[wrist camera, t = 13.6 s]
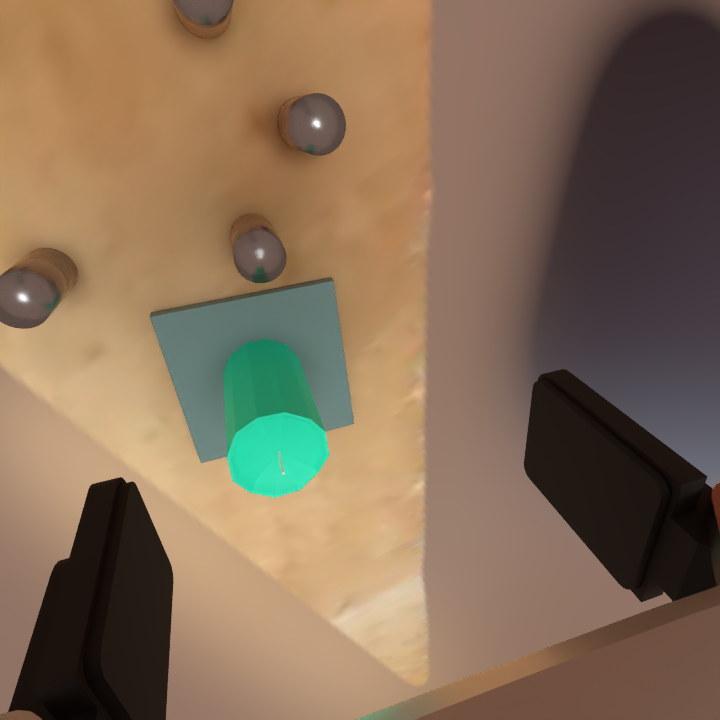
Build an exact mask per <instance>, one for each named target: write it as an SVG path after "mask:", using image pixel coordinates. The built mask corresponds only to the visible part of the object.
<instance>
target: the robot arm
mask: <svg viewBox="0 0 720 720" xmlns="http://www.w3.org/2000/svg"><path fill="white" fill-rule="evenodd" d="M524 468H525V471H526V474H527V476H528V477H529V479H530V480H531V481H532V482H533V483H534V484H535V486H536V487H537V488H538V489H539V490H540V491H541V493H542V494H543V495H544V496H545V497H546V498H547V500H548V501H549V502H550V503H551V504H552V506H553V507H554V508H555V509H556V510H557V511H558V513H559V514H560V515H561V516H562V517H563V519H564V520H565V521H566V522H567V523H568V524H569V525H570V527H571V528H572V529H573V530H574V531H575V533H576V534H577V535H578V536H579V537H580V538H581V540H583V542H584V543H585V544H586V546H587V547H588V548H589V549H590V550H591V551H592V552H593V554H594V555H595V556H596V557H597V558H598V559H599V561H600V562H601V563H602V564H603V565H604V567H605V568H606V569H607V570H608V571H609V573H610V574H611V575H612V576H613V577H614V578H615V580H616V581H617V582H618V583H619V584H620V585H621V586H622V587H623V588H625V589H630V590H631V591H632V592H633V593H634V594H635V595H636V597H637V598H638V599H639V600H640V601H641V602H643V601H646V600H649V599H651V598H654V597H657V596H660V595H662V594H663V592H665V593H666V594H667V595H668V596H669V597H670V598H671V599H672V602H671V603H667V604H664V605H662V606H659V607H656V608H653V609H651V610H648V611H645V612H642V613H640V614H637V615H634V616H632V617H629V618H626V619H623V620H621V621H618V622H615V623H612V624H610V625H607V626H604V627H602V628H599V629H596V630H593V631H591V632H588V633H585V634H583V635H580V636H577V637H574V638H572V639H569V640H566V641H563V642H561V643H558V644H555V645H553V646H550V647H547V648H545V649H542V650H539V651H536V652H534V653H531V654H528V655H526V656H523V657H520V658H518V659H515V660H512V661H510V662H507V663H505V664H502V665H499V666H496V667H494V668H491V669H488V670H486V671H483V672H480V673H478V674H475V675H472V676H470V677H467V678H464V679H462V680H459V681H456V682H454V683H451V684H448V685H446V686H443V687H441V688H438V689H435V690H433V691H430V692H427V693H425V694H422V695H419V696H417V697H414V698H411V699H409V700H406V701H403V702H400V703H398V704H395V705H393V706H390V707H388V708H385V709H382V710H379V711H377V712H374V713H372V714H369V715H367V716H364V717H361V718H358V719H356V720H720V483H718V484H716V485H715V487H714V488H713V489H712V488H711V487H710V486H708V485H707V484H706V483H705V482H706V479H707V476H706V475H705V474H703V473H702V472H701V471H699V470H698V469H696V468H695V467H694V466H693V465H691V464H690V463H689V462H687V461H686V460H685V459H683V458H682V457H681V456H679V455H678V454H677V453H676V452H674V451H673V450H672V449H670V448H669V447H668V446H666V445H665V444H664V443H662V442H661V441H660V440H658V439H657V438H655V437H654V436H653V435H652V434H650V433H649V432H648V431H647V430H645V429H644V428H643V427H641V426H640V425H639V424H637V423H636V422H635V421H633V420H632V419H631V418H629V417H628V416H627V415H625V414H624V413H623V412H622V411H620V410H619V409H618V408H616V407H615V406H614V405H612V404H611V403H610V402H608V401H607V400H605V399H604V398H603V397H602V396H600V395H599V394H598V393H596V392H595V391H594V390H593V389H591V388H590V387H589V386H587V385H586V384H585V383H583V382H582V381H580V380H579V379H578V378H577V377H575V376H574V375H573V374H571V373H570V372H569V371H567V370H563V369H562V370H557V371H553V372H549V373H545V374H542V375H540V377H539V378H538V381H537V382H535V383H534V385H533V391H532V399H531V408H530V417H529V426H528V433H527V442H526V451H525V458H524ZM172 595H173V572H172V567H171V564H170V561H169V559H168V557H167V554H166V552H165V550H164V548H163V545H162V543H161V541H160V538H159V536H158V534H157V531H156V529H155V527H154V525H153V522H152V520H151V518H150V515H149V513H148V511H147V509H146V506H145V504H144V502H143V499H142V497H141V495H140V492H139V491H138V488H137V486H136V484H135V483H134V482H129V483H126V482H125V480H124V479H123V478H121V477H120V478H115V479H111V480H108V481H103V482H99V483H96V484H92V485H91V486H90V488H89V490H88V494H87V497H86V501H85V504H84V508H83V511H82V515H81V519H80V522H79V526H78V530H77V533H76V536H75V540H74V543H73V547H72V550H71V554H70V558H68V559H64V560H61V561H59V562H57V564H56V565H55V566H54V568H53V571H52V573H51V576H50V579H49V583H48V586H47V589H46V592H45V596H44V599H43V602H42V605H41V608H40V612H39V615H38V618H37V621H36V624H35V628H34V631H33V634H32V637H31V640H30V644H29V647H28V650H27V653H26V657H25V660H24V663H23V666H22V669H21V673H20V676H19V679H18V682H17V686H16V689H15V692H14V695H13V698H12V702H11V705H10V708H9V711H8V712H7V713H3V714H1V715H0V720H166V704H167V683H168V668H169V650H170V632H171V613H172Z"/></svg>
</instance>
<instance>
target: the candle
mask: <svg viewBox="0 0 720 720" xmlns="http://www.w3.org/2000/svg"><path fill="white" fill-rule="evenodd" d="M223 380H224V403H225V426H226V450H227V460H228V464H229V468H230V472H231V476H232V480H233V481H234V482H235V483H237V484H238V485H240V486H241V487H243V488H244V489H246V490H247V491H249V492H250V493H254V494H259V495H265V496H270V497H278V496H282V495H285V494H289V493H292V492H296V491H299V490H301V489H302V488H303V487H304V486H305V485H306V484H307V483H308V482H309V481H310V480H311V479H312V478H313V477H314V476H315V475H316V474H317V473H318V472H319V470H320V469H321V467H322V466H323V464H324V463H325V461H326V459H327V458H328V456H329V450H328V444H327V438H326V432H325V429H324V427H323V424H322V421H321V418H320V415H319V413H318V410H317V407H316V404H315V401H314V399H313V396H312V393H311V390H310V388H309V385H308V382H307V379H306V376H305V374H304V371H303V368H302V365H301V363H300V360H299V358H298V357H297V356H296V355H295V353H294V352H293V351H292V350H291V349H290V348H289V347H288V346H287V345H286V344H282V343H279V342H276V341H272V340H269V339H263V340H258V341H253V342H248V343H245V344H244V345H243V346H241V347H240V348H239V349H238V350H236V351H235V352H234V353H233V354H231V355H230V357H229V359H228V362H227V365H226V367H225V370H224V373H223Z"/></svg>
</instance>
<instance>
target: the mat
mask: <svg viewBox="0 0 720 720" xmlns="http://www.w3.org/2000/svg"><path fill="white" fill-rule="evenodd" d="M150 318H151V321H152V324H153V327H154V329H155V332H156V335H157V338H158V341H159V344H160V347H161V350H162V352H163V355H164V358H165V361H166V364H167V367H168V370H169V373H170V376H171V378H172V381H173V384H174V387H175V390H176V393H177V396H178V399H179V401H180V404H181V407H182V410H183V413H184V416H185V419H186V422H187V424H188V427H189V430H190V433H191V436H192V439H193V442H194V445H195V447H196V450H197V453H198V456H199V459H200V462H201V463H203V462H207V461H211V460H215V459H219V458H223V457H226V456H227V450H226V426H225V403H224V380H223V373H224V370H225V367H226V365H227V362H228V359H229V357H230V355H231V354H233V353H234V352H235V351H236V350H238V349H239V348H240V347H241V346H243V345H244V344H245V343H248V342H253V341H258V340H263V339H269V340H272V341H276V342H279V343H282V344H286V345H287V346H288V347H289V348H290V349H291V350H292V351H293V352H294V353H295V355H296V356H297V357H298V358H299V360H300V363H301V365H302V368H303V371H304V374H305V376H306V379H307V382H308V385H309V388H310V390H311V393H312V396H313V399H314V401H315V404H316V407H317V410H318V413H319V415H320V418H321V421H322V424H323V427H324V429H325V431H328V430H332V429H336V428H340V427H344V426H348V425H352V424H354V420H353V413H352V406H351V399H350V392H349V385H348V378H347V371H346V364H345V357H344V350H343V343H342V336H341V329H340V322H339V316H338V309H337V302H336V295H335V288H334V281H333V279H332V278H327V279H322V280H317V281H312V282H307V283H302V284H297V285H291V286H286V287H281V288H276V289H271V290H266V291H261V292H256V293H251V294H245V295H240V296H235V297H230V298H225V299H220V300H215V301H210V302H205V303H200V304H194V305H189V306H184V307H179V308H174V309H169V310H164V311H159V312H154V313H151V316H150Z"/></svg>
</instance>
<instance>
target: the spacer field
mask: <svg viewBox="0 0 720 720" xmlns="http://www.w3.org/2000/svg"><path fill="white" fill-rule="evenodd" d="M173 3H174V6H175V9H176V12H177V14H178V17H179V19H180V21H181V22H182V24H183V25H184V26H185V27H186V29H188V30H189V31H190V32H191V33H192V34H194V35H196V36H198V37H201V38H214V37H217V36H219V35H220V34H222V33H223V32H224V31H225V29H226V28H227V26H228V24H229V21H230V16H231V10H232V5H233V0H173ZM278 129H279V132H280V135H281V137H282V138H283V140H284V141H285V142H286V143H287V144H289V145H290V146H292V147H294V148H296V149H299V150H302V151H304V152H307V153H310V154H312V155H326V154H329V153H331V152H333V151H334V150H335V149H336V148H337V147H338V146H339V145H340V144H341V142H342V140H343V138H344V135H345V130H346V121H345V116H344V113H343V111H342V109H341V107H340V106H339V104H338V103H337V102H336V101H335V100H334V99H333V98H331V97H329V96H327V95H325V94H320V93H314V94H309V95H305V96H301V97H296V98H293V99H290V100H288V101H287V102H286V103H285V104H284V105H283V106H282V108H281V109H280V112H279V115H278ZM231 242H232V249H233V255H234V262H235V265H236V268H237V270H238V271H239V273H240V274H241V275H242V276H243V277H244V278H246V279H247V280H249V281H252V282H255V283H266V282H270V281H272V280H274V279H276V278H277V277H278V276H279V275H280V274H281V273H282V271H283V270H284V267H285V264H286V252H285V249H284V247H283V245H282V243H281V241H280V239H279V238H278V236H277V234H276V232H275V230H274V228H273V227H272V225H271V223H270V222H269V221H268V220H267V219H266V218H264V217H262V216H260V215H257V214H247V215H244V216H242V217H240V218H239V219H237V220H236V221H235V223H234V224H233V226H232V229H231ZM76 281H77V269H76V266H75V264H74V263H73V261H72V260H71V259H70V258H69V257H68V256H67V255H65V254H64V253H62V252H60V251H58V250H55V249H50V248H42V249H37V250H35V251H33V252H31V253H30V254H29V255H27V256H26V257H25V258H23V259H22V260H21V261H19V262H18V263H17V264H15V265H14V266H13V267H11V268H10V269H9V270H7V271H6V272H5V273H3V274H2V275H1V276H0V321H1V322H2V323H4V324H6V325H8V326H11V327H15V328H22V329H24V328H32V327H36V326H38V325H40V324H42V323H43V322H44V321H45V320H46V319H47V318H48V317H49V316H50V314H51V313H52V312H53V311H54V309H55V308H56V307H57V306H58V305H59V303H60V302H61V301H62V300H63V298H64V297H65V296H66V295H67V294H68V292H69V291H70V290H71V289H72V287H73V286H74V285H75V283H76Z"/></svg>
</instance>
